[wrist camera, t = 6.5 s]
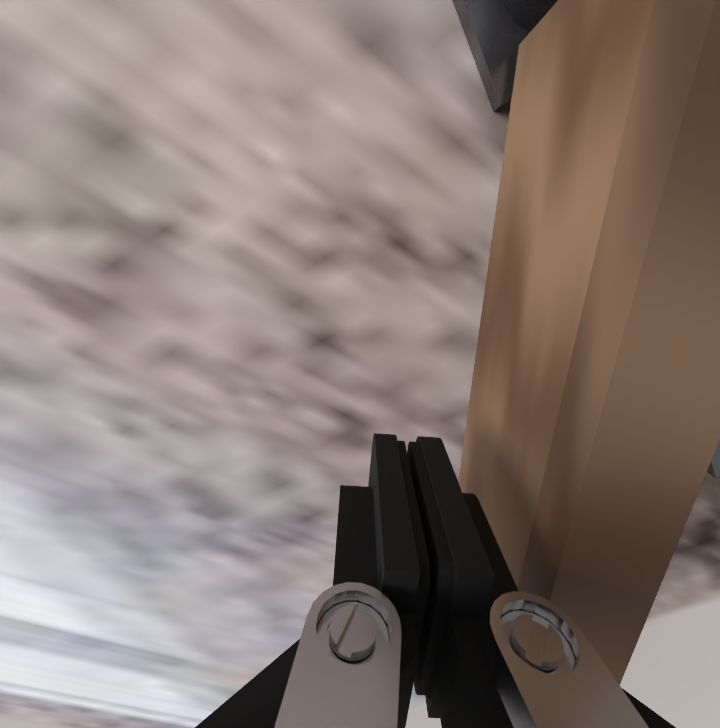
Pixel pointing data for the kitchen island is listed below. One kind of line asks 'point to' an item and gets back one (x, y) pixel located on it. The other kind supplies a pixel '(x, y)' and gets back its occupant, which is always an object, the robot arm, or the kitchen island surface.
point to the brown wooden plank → (602, 310)
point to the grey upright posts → (509, 58)
